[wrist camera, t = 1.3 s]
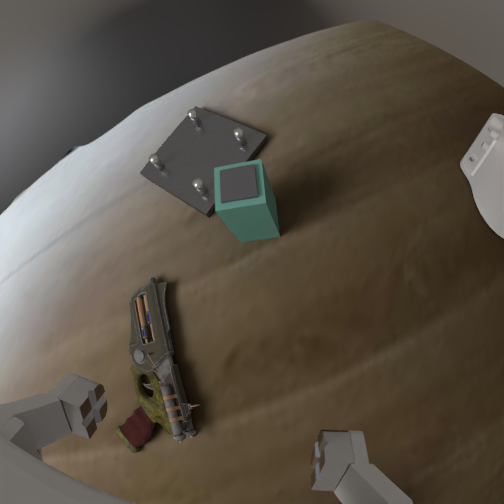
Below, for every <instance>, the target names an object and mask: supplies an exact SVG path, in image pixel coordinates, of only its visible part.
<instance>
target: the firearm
mask: <svg viewBox="0 0 504 504" xmlns="http://www.w3.org/2000/svg"><path fill="white" fill-rule="evenodd" d="M148 282H149V285H146V286H144V287H141V288H139V289H138V290H137V291H136V292H135V293H134V294H133V295H132V296H131V297H130V301H129V306H130V315H131V335H130V344H129V345H128V348H129V354H130V357H131V359H132V362H133V364H134V365H133V366H132V367H131V368H130V369H131V371H132V373H133V376H134V380H135V390H136V394H137V397H138V401H139V404H140V405H141V406H140V407H139V408H138V409H136V410H135V411H134V413H133V415H132V416H131V417H129V418H127V420H126V422H125V424H124V425H122V426H119V427H117V428H115V429H114V431H115V432H116V433H117V434H119V435H120V437H121V438H122V440H123V441H124V443H125V444H126V446H127V447H128V448H129V449H130V451H132V452H133V453H136V452H139V451H140V446H141V445H143V444H145V443H146V442H148V441H149V440H150V438H151V436H152V435H153V433H154V431H155V426H156V423H159V424H161V425H162V426H163V427H164V428H165V430H166V431H167V432H168V433H169V434H173V438H174V440H176V441H179V442H183V441H182V440H184V439H185V438H186V435H187V436H190V438H192V437H193V435H195V434H196V430H195V429H194V427H193V424H192V417H191V409H193V408H194V407H195V406H199V405H200V404H197V405H193V404H189V403H188V402H187V399H186V395H185V392H184V388H183V384H182V380H181V377H180V373H179V369H178V365H177V364H176V365H174V363H173V359H172V356H173V354H174V349H173V345H172V341H171V336H170V329H171V328H170V323H169V319H168V314H167V309H166V300H165V296H166V287H167V282H164V283H159V284H158V283H156V281H155V278H154V277H151V278H149V279H148ZM152 339H153V341H152ZM143 374H145V375H147V376H148V377H149V379H150V380H151V384H144V386H146V387H147V388H149V389H153V390H154V394H153V397H150V396H149V395H147V394H146V392H145V390H144V387H143V384H142V380H141V377H142V375H143ZM184 429H185V430H186V431H185V432H184V433H185V434H183V430H184Z"/></svg>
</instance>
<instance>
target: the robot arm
mask: <svg viewBox="0 0 504 504" xmlns="http://www.w3.org/2000/svg"><path fill="white" fill-rule="evenodd" d="M470 159H471V160H472V161H473V162H472V161H471V160H470ZM460 166H461V169H462V171H463V172H464V174H465V176H466V177H467V179H468V180H469V182H470V184H471V188H472V192H473V196H474V199H475V202H476V205H477V207H478V209H479V211H480V213H481V215H482V216H483V218H484V220H485V221H486V222H487V224H488V225H489V226H490V227H491V228H492V229H493V230H494V231H495V232H496V233H497V234H498V235H499V236H501V237H502V238H504V116H503V115H500V114H495V113H493V114H492V115H491V116H490V117H489V119H488V121H487V122H486V124H485V125H484V127H483V128H482V130H481V131H480V133H479V134H478V136H477V138H476V139H475V141H474V142H473V144H472V145H471V147H470V148H469V149H468V151H467V152H466V154H465V155H464V157H463V158H462V160H461V161H460ZM104 392H105V391H104V387H103V385H101V384H99V383H97V382H94V381H92V380H89V379H87V378H84V377H82V376H79V375H76V374H74V373H72V372H70V373H67V374H66V375H65V376H64V377H63V378H62V379H61V380H60V381H59V382H58V383H57V384H56V385H55V386H54V387H53V389H52V390H51V391H50V392H49V393H48V394H46V393H42V394H39V395H35V396H32V397H28V398H25V399H21V400H18V401H14V402H10V403H7V404H3V405H0V504H136V503H133V502H131V501H128V500H125V499H122V498H120V497H117V496H115V495H112V494H110V493H107V492H105V491H102V490H100V489H98V488H95V487H93V486H91V485H88V484H86V483H84V482H82V481H80V480H78V479H76V478H73V477H71V476H69V475H67V474H65V473H63V472H62V471H60V470H58V469H56V468H54V467H52V466H50V465H48V464H47V463H45V462H43V460H42V457H41V456H40V454H39V452H38V449H40V448H42V447H44V446H47V445H49V444H51V443H53V442H55V441H57V440H59V439H61V438H63V437H65V436H67V435H69V434H71V433H72V432H73V433H75V434H78V435H80V436H83V437H85V438H88V439H90V438H91V436H92V435H93V434H94V432H95V431H96V429H97V426H96V423H99V422H101V421H102V420H103V419H104V417H105V415H106V412H107V400H106V399H105V398H104V396H103V393H104ZM311 467H312V468H313V469H314V470H313V473H312V475H311V490H325V491H334V493H335V494H336V496H337V497H338V498H339V500H340V501H341V503H342V504H413V502H412V500H411V499H410V498H409V497H408V496H407V495H406V494H405V493H404V492H402V491H401V490H400V489H399V488H398V487H397V486H396V485H395V484H394V483H393V482H392V481H391V480H389V479H388V478H387V477H386V476H385V475H384V474H383V473H382V472H381V471H380V470H379V469H378V468H377V467H376V466H375V465H374V464H369V460H368V455H367V450H366V445H365V440H364V435H363V432H362V431H344V430H323V429H322V430H321V431H320V432H319V435H318V442H317V443H315V445H314V447H313V451H312V455H311Z"/></svg>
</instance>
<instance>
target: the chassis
mask: <svg viewBox="0 0 504 504" xmlns="http://www.w3.org/2000/svg"><path fill="white" fill-rule="evenodd" d="M187 114H188V115H187V117H186V118H185V119H184V120H183V121H182V122H181V123H180V124H179V126H178V127H177V128H176V129H175V130H174V131H173V133H172V134H171V135H170V136H169V137H168V139H167V140H166V141H165V142H164V143H163V145H162V146H161V147H160V148H159V149H158V151H157V152H156V153H155V154H152V155H151V156H150V157H149V160H150V161H149V162H148V163H147V164H146V166H145V167H144V168H143V170H142V171H141V172H140V174H141V175H142V176H144V177H145V178H147V179H148V180H150V181H151V182H153V183H155V184H156V185H158V186H159V187H161V188H163V189H164V190H166V191H167V192H169V193H171V194H172V195H174V196H175V197H177V198H179V199H180V200H182V201H183V202H185V203H187V204H188V205H190V206H191V207H193V208H195V209H196V210H198V211H199V212H201V213H202V214H204V215H206V216H207V217H210V216H211V214H212V213H213V212H214V210H215V183H214V168H216V167H221V166H226V165H232V164H237V163H242V162H248V161H252V160H253V159H254V157H255V156H256V155H257V153H258V152H259V151H260V150H261V148H262V147H263V146H264V144H265V143H266V142H267V141H268V138H267V135H265V134H263V133H261V132H258V131H256V130H254V129H251V128H249V127H247V126H244V125H242V124H239V123H237V122H234V121H232V120H230V119H227V118H225V117H222V116H219V115H217V114H214V113H212V112H209V111H206V110H204V109H201V108H198V107H196V106H195V108H194V109H190V110H189V111H188V112H187Z"/></svg>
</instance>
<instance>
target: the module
mask: <svg viewBox="0 0 504 504" xmlns="http://www.w3.org/2000/svg"><path fill="white" fill-rule="evenodd" d="M214 183H215V211H216V213H217V214H218V215H219V216H220V218H221V219H222V220H223V221H224V223H225V224H226V225H227V226H228V228H229V229H230V230H231V231H232V233H233V234H234V235H235V236H236V237H237V239H238V240H239V241H240V242H247V241H254V240H261V239H268V238H275V237H280V233H279V224H278V215H277V206H276V199H275V197H274V194H273V191H272V188H271V185H270V182H269V179H268V176H267V174H266V171H265V168H264V165H263V162H262V159H259V160H253V161H248V162H242V163H237V164H232V165H226V166H221V167H216V168H214Z"/></svg>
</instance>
